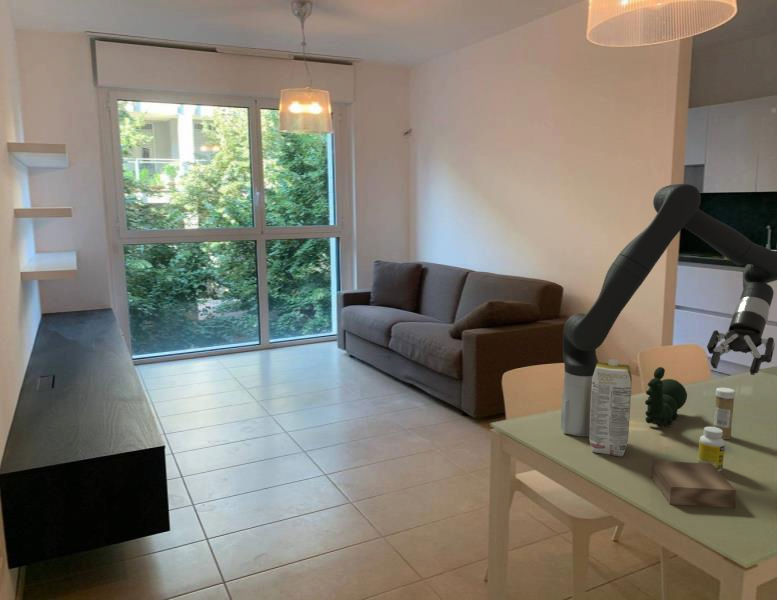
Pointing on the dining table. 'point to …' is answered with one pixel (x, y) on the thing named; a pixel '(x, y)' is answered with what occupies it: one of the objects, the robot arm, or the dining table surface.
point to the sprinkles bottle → (724, 411)
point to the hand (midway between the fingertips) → (732, 370)
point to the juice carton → (610, 408)
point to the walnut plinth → (693, 484)
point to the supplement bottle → (712, 447)
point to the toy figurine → (664, 399)
